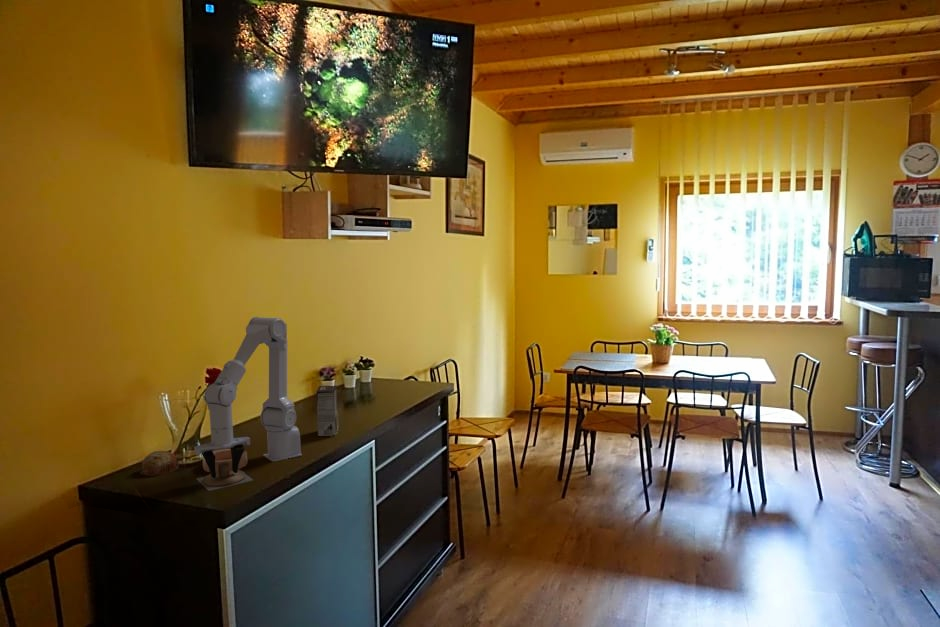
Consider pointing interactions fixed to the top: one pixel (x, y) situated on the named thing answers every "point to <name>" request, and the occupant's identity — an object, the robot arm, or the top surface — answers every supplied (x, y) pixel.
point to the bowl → (225, 459)
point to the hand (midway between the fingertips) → (224, 474)
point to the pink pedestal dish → (224, 476)
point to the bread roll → (159, 463)
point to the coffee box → (327, 410)
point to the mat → (223, 486)
